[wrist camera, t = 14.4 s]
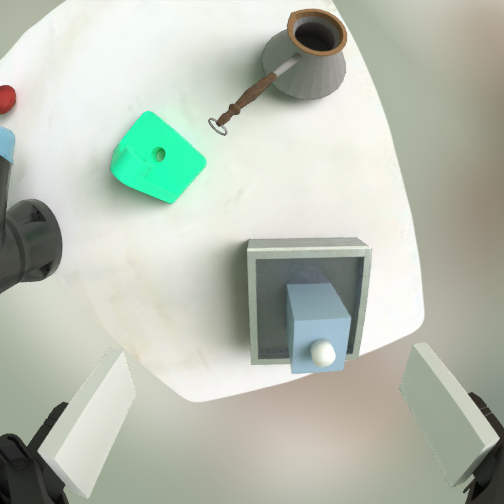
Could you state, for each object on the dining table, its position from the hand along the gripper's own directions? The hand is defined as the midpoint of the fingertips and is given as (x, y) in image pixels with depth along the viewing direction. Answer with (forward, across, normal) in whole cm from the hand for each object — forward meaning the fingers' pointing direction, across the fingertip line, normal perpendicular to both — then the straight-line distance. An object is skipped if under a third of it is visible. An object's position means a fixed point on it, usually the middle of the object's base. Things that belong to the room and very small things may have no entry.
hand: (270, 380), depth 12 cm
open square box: (+31, +6, -10) cm, 33 cm away
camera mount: (+32, -14, +12) cm, 37 cm away
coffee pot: (+32, +3, +20) cm, 38 cm away
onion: (+32, -47, +28) cm, 63 cm away
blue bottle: (+26, +6, -10) cm, 29 cm away
